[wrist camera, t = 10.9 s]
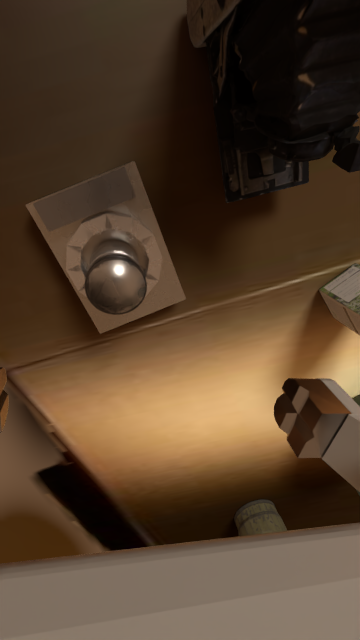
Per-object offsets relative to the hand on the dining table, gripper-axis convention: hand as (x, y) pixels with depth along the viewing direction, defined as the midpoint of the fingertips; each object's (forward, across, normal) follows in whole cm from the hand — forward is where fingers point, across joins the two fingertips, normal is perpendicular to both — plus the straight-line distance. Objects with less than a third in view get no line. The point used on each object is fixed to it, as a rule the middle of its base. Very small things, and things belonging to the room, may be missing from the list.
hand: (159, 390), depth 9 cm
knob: (+22, +1, +4) cm, 23 cm away
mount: (+25, +1, +3) cm, 26 cm away
